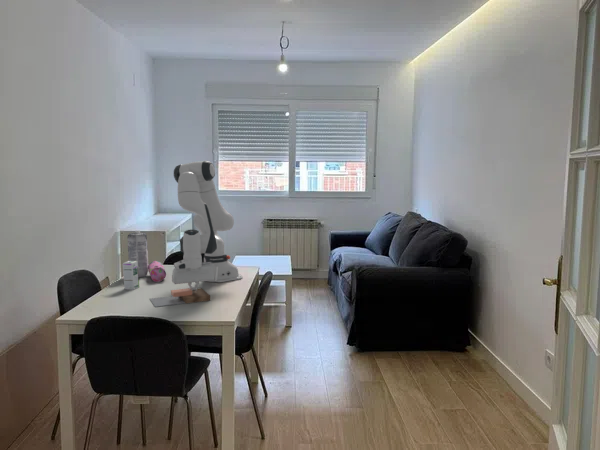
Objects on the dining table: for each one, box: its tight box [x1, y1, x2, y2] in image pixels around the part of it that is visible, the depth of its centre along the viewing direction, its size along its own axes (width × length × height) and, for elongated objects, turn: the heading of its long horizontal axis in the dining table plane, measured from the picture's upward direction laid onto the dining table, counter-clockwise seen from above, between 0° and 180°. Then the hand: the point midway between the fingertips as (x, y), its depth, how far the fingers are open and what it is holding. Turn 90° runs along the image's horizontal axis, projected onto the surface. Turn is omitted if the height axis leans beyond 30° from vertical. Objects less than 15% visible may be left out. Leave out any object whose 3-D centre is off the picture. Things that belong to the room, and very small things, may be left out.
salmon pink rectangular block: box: [170, 287, 192, 297], centre depth 252 cm, size 9×6×2 cm, turn 115°
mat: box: [149, 295, 186, 308], centre depth 250 cm, size 14×16×1 cm
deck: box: [179, 287, 211, 304], centre depth 255 cm, size 12×16×2 cm
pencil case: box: [148, 260, 167, 283], centre depth 301 cm, size 21×9×9 cm, turn 19°
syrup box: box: [122, 260, 140, 291], centre depth 276 cm, size 6×6×14 cm
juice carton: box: [127, 230, 149, 278], centre depth 306 cm, size 9×10×27 cm
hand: (193, 290), depth 255 cm, fingers closed
